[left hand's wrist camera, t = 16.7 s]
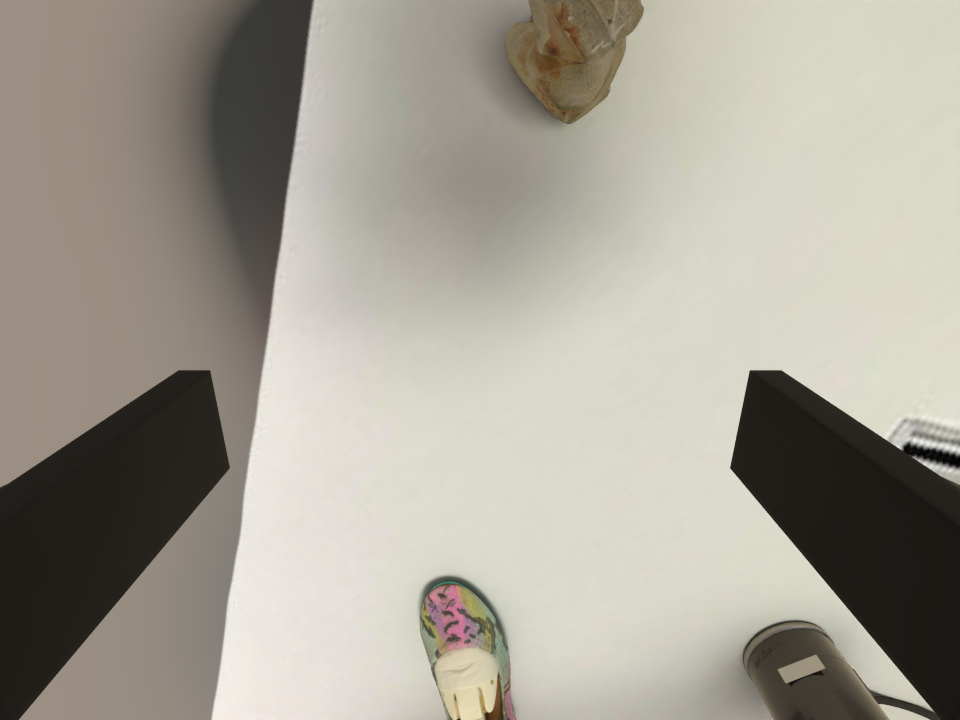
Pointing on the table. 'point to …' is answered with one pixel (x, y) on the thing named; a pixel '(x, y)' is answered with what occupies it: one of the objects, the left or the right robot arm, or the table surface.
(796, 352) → the table surface
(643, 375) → the table surface
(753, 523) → the table surface
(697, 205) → the table surface
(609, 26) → the sculpture
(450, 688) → the ballet flat
